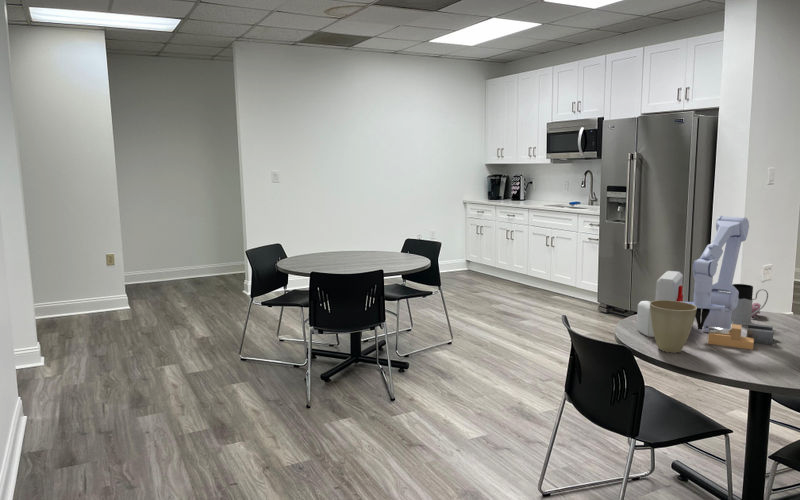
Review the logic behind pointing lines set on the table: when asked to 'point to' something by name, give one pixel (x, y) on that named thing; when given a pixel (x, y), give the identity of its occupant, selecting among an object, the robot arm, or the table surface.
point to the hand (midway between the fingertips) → (700, 328)
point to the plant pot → (671, 323)
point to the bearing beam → (732, 339)
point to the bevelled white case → (669, 286)
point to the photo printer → (644, 319)
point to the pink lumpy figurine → (755, 309)
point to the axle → (720, 330)
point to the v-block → (760, 333)
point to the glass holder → (744, 304)
